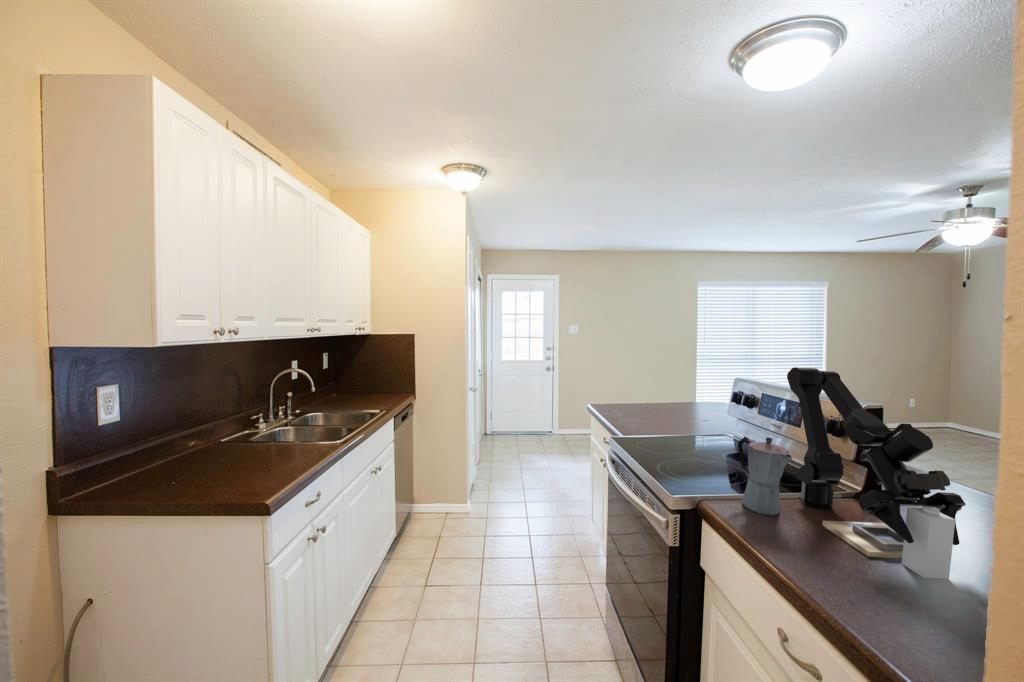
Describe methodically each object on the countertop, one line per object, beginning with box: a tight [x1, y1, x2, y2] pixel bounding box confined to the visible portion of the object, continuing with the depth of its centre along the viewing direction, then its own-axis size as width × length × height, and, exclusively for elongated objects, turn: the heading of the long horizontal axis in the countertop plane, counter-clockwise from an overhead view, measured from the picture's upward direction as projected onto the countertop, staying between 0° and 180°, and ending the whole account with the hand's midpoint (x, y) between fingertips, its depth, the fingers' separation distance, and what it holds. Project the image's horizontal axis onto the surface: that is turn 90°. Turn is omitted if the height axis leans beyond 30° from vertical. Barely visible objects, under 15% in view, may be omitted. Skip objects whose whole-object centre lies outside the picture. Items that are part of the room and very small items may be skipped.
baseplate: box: [821, 520, 904, 559], centre depth 99 cm, size 14×16×3 cm
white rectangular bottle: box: [901, 506, 956, 580], centre depth 87 cm, size 5×5×14 cm
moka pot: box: [737, 436, 793, 516], centre depth 115 cm, size 10×15×20 cm, turn 27°
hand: (934, 543), depth 86 cm, fingers open, 9 cm apart
